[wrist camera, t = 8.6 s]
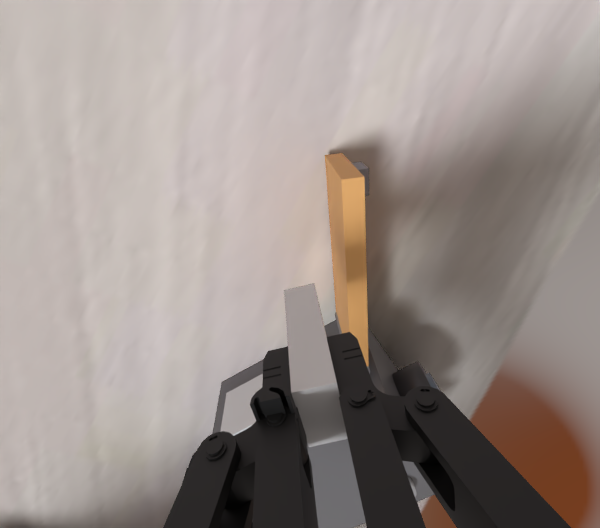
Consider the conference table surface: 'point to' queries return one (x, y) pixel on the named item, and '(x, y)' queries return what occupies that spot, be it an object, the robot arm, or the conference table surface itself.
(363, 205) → the side door
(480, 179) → the conference table surface
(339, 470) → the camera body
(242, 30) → the conference table surface
